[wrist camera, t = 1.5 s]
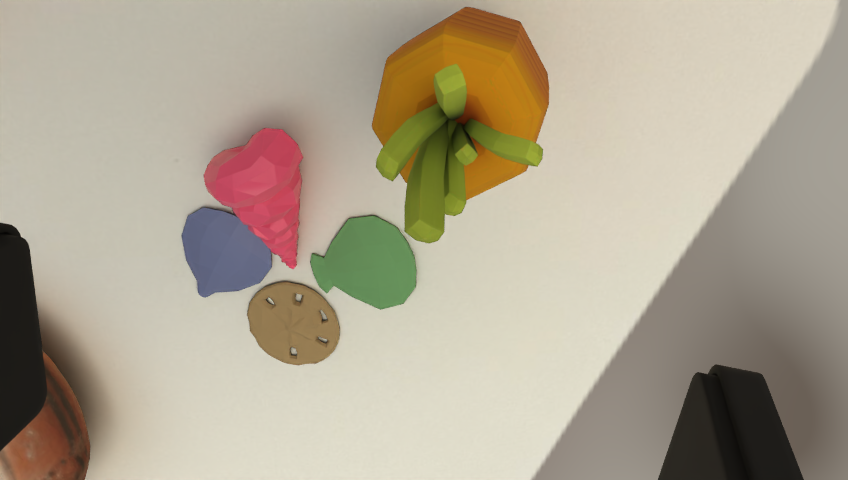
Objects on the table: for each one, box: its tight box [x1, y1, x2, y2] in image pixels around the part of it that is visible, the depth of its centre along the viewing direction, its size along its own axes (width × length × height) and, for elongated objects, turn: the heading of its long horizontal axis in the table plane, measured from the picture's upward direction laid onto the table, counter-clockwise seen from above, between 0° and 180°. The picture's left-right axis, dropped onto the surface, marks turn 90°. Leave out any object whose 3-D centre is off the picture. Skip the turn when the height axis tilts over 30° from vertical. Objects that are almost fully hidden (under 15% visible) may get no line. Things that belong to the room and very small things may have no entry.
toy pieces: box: [182, 128, 416, 365], centre depth 34 cm, size 12×11×4 cm
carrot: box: [372, 7, 549, 243], centre depth 23 cm, size 5×5×15 cm
